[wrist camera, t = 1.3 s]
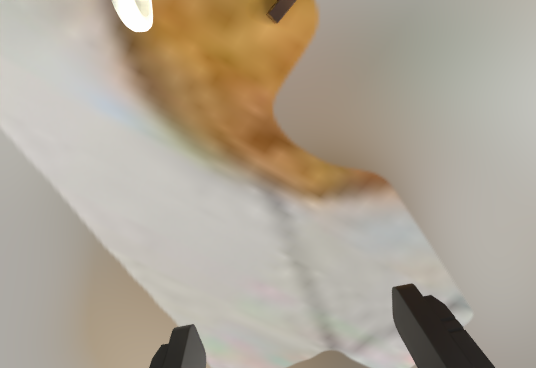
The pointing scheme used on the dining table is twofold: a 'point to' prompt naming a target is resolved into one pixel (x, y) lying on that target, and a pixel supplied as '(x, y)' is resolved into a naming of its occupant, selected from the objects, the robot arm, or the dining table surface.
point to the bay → (279, 9)
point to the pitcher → (135, 13)
